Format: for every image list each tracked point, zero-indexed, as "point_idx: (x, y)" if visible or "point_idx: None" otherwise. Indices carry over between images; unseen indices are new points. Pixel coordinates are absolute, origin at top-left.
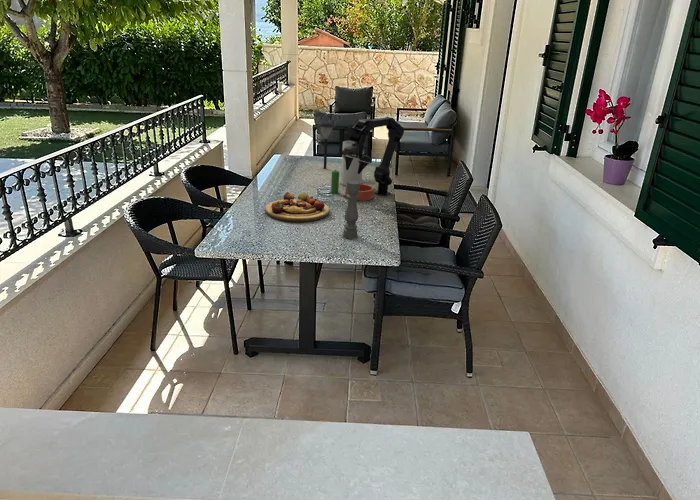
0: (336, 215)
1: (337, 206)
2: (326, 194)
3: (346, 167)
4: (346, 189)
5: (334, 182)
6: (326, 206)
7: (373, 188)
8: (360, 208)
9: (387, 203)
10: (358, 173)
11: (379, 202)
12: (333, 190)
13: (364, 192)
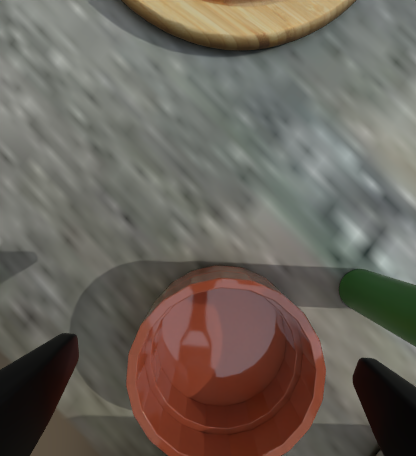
0: (75, 13)
1: (176, 125)
2: (363, 229)
3: (407, 392)
4: (268, 285)
5: (404, 293)
6: (155, 1)
7: (151, 439)
8: (79, 199)
9: None
10: (57, 344)
11: (88, 357)
12: (363, 275)
13: (139, 328)
